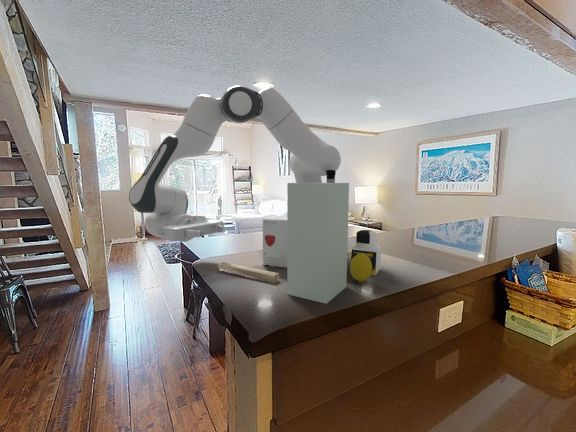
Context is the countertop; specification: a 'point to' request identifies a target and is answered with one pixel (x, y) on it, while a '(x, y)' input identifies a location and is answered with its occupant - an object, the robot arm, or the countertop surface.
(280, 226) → the supplement box
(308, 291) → the pedestal
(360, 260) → the lemon
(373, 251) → the medicine bottle
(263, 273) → the birch bar
